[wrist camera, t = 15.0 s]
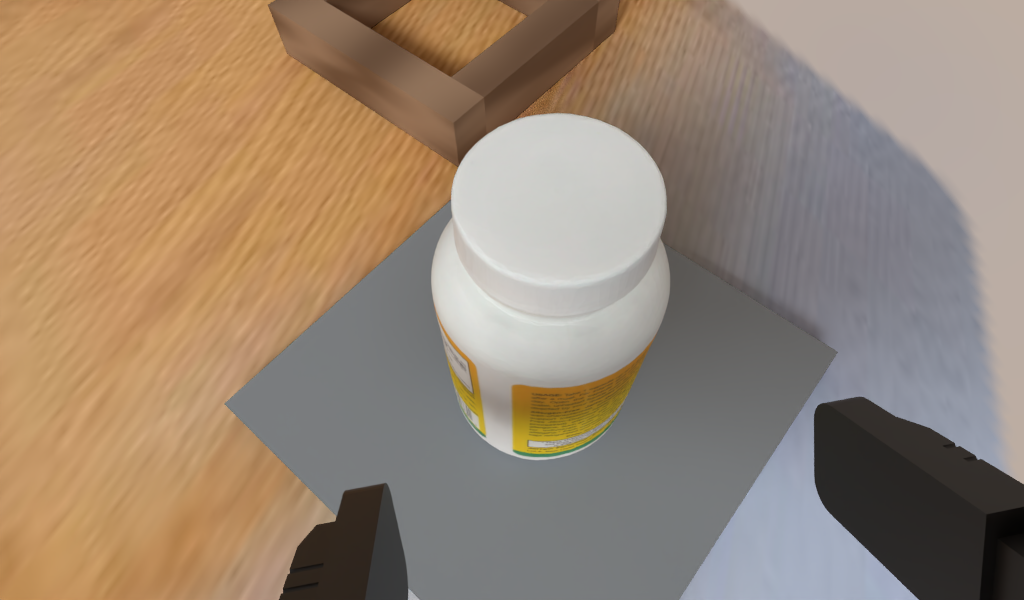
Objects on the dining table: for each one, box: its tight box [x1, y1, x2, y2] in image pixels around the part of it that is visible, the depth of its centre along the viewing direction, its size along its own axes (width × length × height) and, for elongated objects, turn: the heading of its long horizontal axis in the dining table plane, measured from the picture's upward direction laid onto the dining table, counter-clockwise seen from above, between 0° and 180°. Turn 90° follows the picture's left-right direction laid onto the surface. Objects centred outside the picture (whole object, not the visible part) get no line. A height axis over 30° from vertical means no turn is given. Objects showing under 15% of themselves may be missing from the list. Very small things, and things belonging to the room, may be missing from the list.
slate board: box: [225, 200, 838, 600], centre depth 20 cm, size 14×14×1 cm
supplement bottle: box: [431, 113, 670, 460], centre depth 15 cm, size 5×5×10 cm
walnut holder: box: [268, 0, 620, 167], centre depth 28 cm, size 11×11×2 cm
